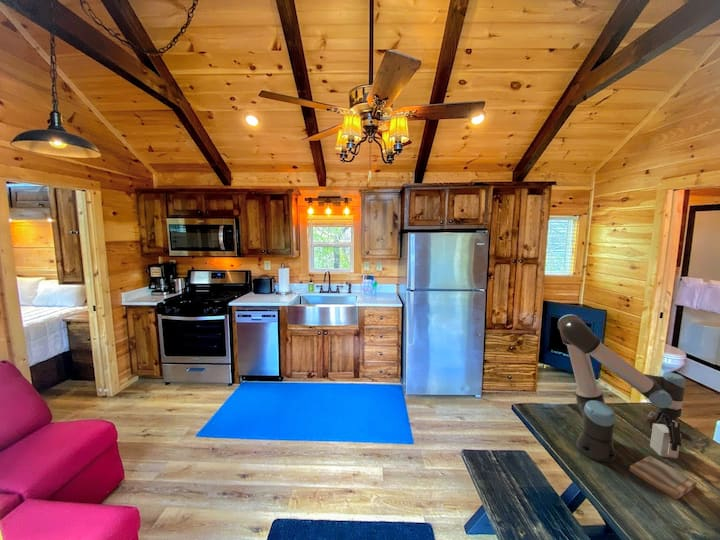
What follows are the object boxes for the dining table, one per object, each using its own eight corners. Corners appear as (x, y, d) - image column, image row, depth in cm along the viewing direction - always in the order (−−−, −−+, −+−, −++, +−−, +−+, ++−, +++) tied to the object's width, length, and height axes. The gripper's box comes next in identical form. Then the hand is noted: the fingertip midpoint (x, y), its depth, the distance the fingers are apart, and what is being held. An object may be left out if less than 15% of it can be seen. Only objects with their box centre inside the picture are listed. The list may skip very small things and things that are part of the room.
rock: (673, 438, 161) (670, 427, 169) (680, 424, 159) (676, 414, 167) (644, 426, 168) (642, 416, 176) (650, 413, 166) (648, 404, 174)
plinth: (676, 499, 124) (677, 493, 123) (629, 470, 138) (630, 464, 138) (696, 486, 130) (697, 480, 129) (649, 460, 144) (649, 454, 144)
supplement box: (678, 458, 145) (682, 434, 143) (660, 456, 147) (663, 432, 145) (666, 447, 152) (670, 424, 150) (649, 445, 154) (652, 422, 152)
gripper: (696, 422, 133) (689, 466, 136) (668, 394, 156) (663, 432, 158) (673, 418, 136) (666, 461, 139) (649, 391, 159) (644, 428, 162)
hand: (664, 446), depth 149 cm, fingers open, 13 cm apart
